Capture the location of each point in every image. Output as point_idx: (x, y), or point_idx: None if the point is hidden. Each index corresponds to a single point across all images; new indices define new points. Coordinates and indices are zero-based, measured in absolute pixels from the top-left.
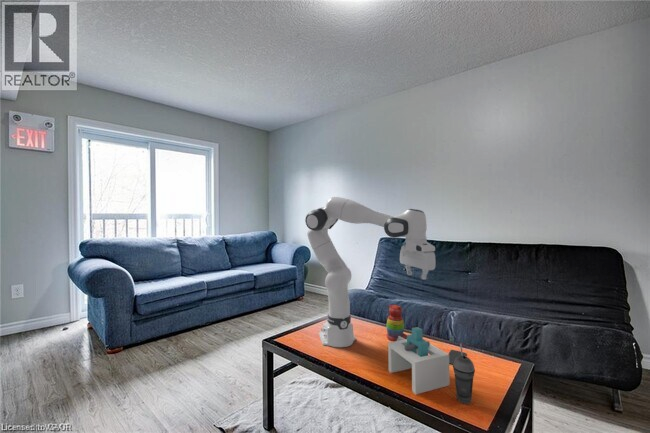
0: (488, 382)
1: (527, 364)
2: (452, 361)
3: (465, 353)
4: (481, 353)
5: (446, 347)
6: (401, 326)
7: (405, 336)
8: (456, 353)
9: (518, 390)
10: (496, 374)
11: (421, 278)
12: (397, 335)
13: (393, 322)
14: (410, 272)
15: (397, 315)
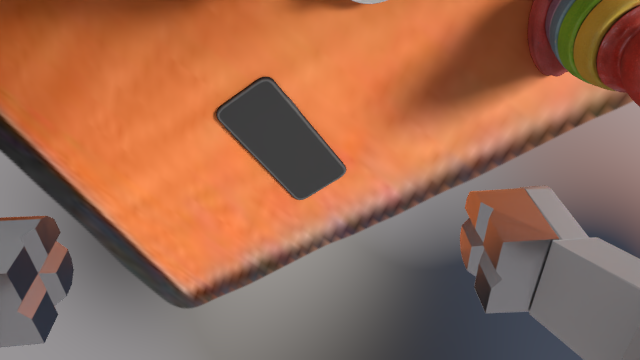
0: (88, 125)
1: (177, 305)
2: (254, 108)
3: (297, 196)
4: (283, 244)
5: (374, 168)
6: (566, 46)
7: (539, 56)
8: (309, 167)
9: (30, 176)
10: (136, 187)
11: (18, 219)
12: (553, 3)
13: (613, 5)
14: (490, 260)
15: (626, 53)
